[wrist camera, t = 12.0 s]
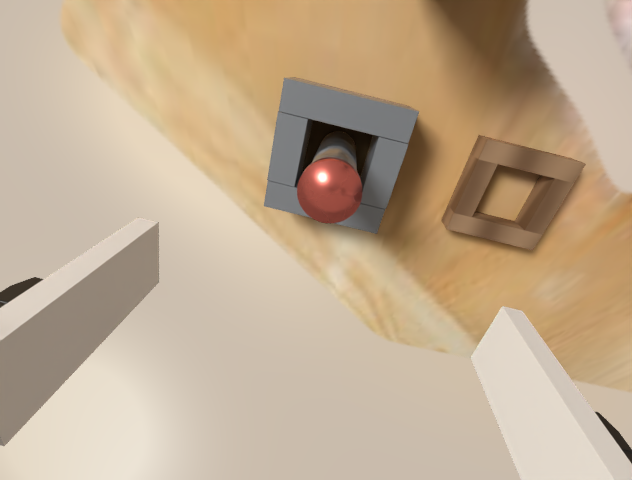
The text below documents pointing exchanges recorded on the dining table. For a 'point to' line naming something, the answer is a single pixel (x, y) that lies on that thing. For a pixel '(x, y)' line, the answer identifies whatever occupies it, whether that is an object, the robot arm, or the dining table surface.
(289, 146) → the block
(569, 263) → the dining table surface
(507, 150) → the mount collar
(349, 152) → the lock pin
